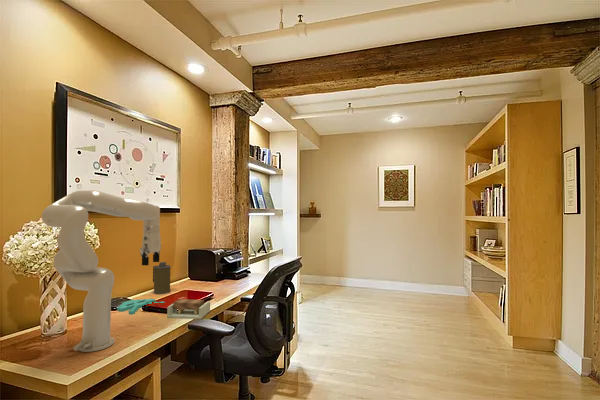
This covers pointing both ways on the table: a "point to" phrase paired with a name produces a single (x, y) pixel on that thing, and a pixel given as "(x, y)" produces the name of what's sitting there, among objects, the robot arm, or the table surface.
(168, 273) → the canister
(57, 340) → the table surface
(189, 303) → the brown wooden block
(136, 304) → the alien figure
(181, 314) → the peg frame
